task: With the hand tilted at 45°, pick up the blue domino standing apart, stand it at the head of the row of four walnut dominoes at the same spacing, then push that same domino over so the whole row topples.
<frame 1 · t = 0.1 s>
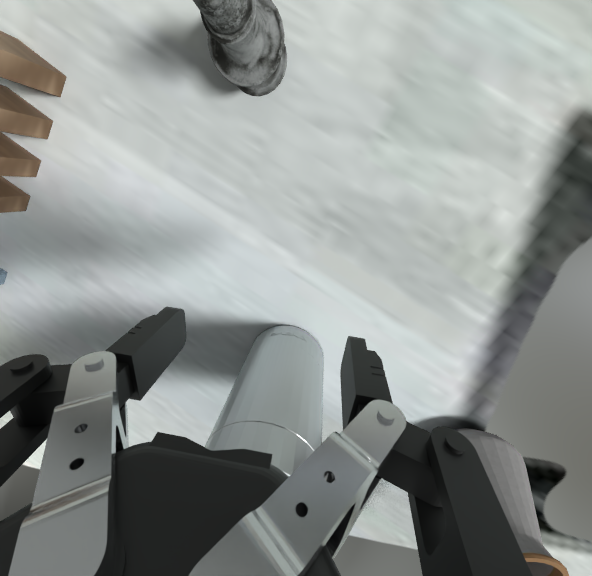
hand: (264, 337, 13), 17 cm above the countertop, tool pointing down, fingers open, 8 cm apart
domino 2: (7, 189, 30), on the countertop
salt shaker: (257, 61, 24), on the countertop
domino 4: (27, 113, 27), on the countertop
domino 5: (39, 68, 25), on the countertop
domino 3: (16, 153, 29), on the countertop
coffee pot: (448, 472, 38), on the countertop
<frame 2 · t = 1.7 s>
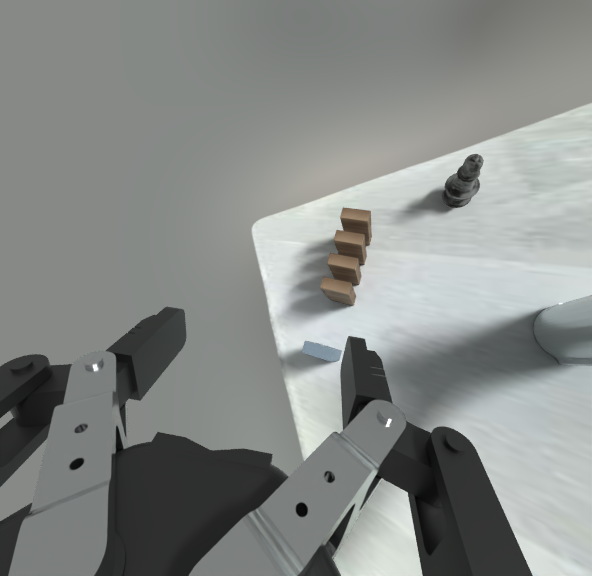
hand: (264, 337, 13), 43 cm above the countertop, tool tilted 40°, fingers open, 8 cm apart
domino 2: (343, 298, 56), on the countertop
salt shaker: (456, 196, 55), on the countertop
blue domino: (328, 351, 54), on the countertop
domino 4: (353, 258, 58), on the countertop
domino 5: (358, 239, 58), on the countertop
domino 3: (348, 277, 57), on the countertop
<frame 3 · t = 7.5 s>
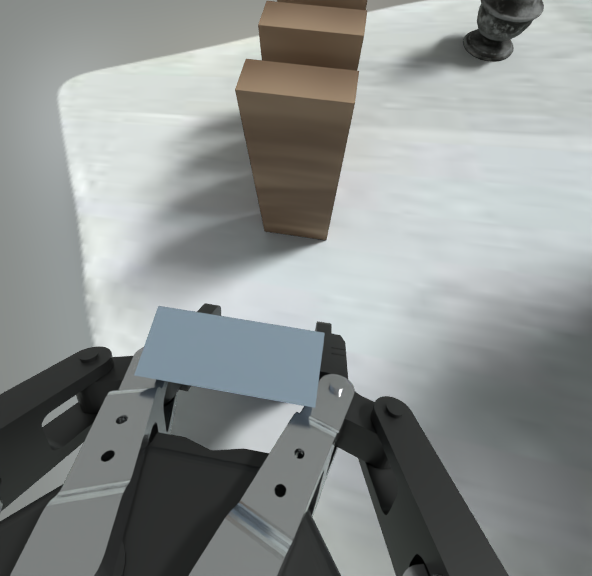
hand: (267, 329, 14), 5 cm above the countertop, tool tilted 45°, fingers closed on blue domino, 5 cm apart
domino 2: (297, 225, 22), on the countertop
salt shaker: (486, 47, 30), on the countertop
blue domino: (269, 371, 18), on the countertop, touching gripper
domino 4: (313, 142, 25), on the countertop
domino 3: (305, 181, 23), on the countertop
when the fingers open (6 cm above the countertop, at t = 13.7 s): blue domino stays where it is, on the countertop.
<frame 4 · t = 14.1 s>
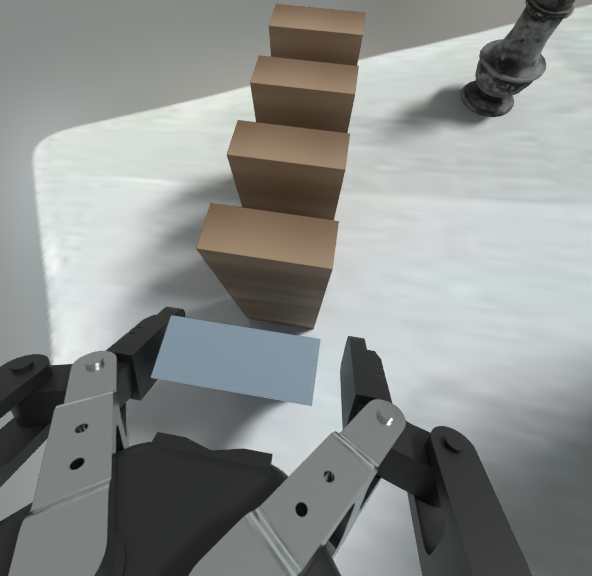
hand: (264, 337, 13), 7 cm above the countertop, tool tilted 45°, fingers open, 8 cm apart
domino 2: (282, 310, 20), on the countertop
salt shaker: (485, 100, 28), on the countertop
blue domino: (269, 373, 19), on the countertop
domino 4: (301, 211, 23), on the countertop
domino 5: (308, 171, 25), on the countertop
domino 3: (292, 257, 22), on the countertop
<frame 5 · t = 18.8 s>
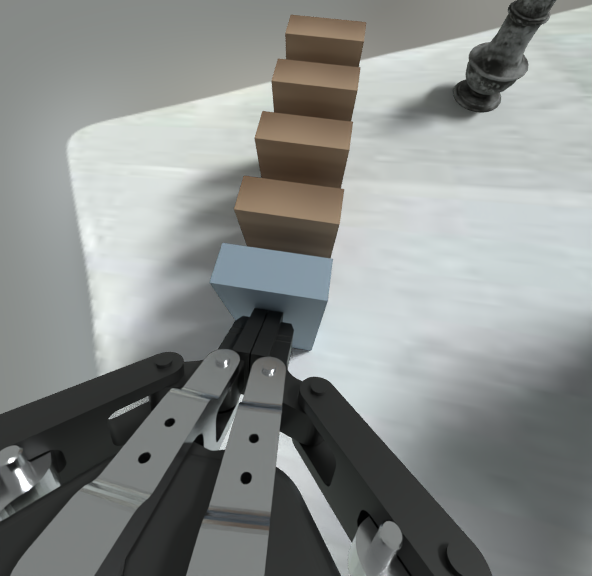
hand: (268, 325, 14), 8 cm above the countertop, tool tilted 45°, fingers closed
domino 2: (292, 281, 23), on the countertop
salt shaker: (475, 97, 31), on the countertop
blue domino: (282, 333, 22), on the countertop
domino 4: (308, 196, 26), on the countertop
domino 5: (315, 161, 28), on the countertop
domino 3: (301, 236, 25), on the countertop
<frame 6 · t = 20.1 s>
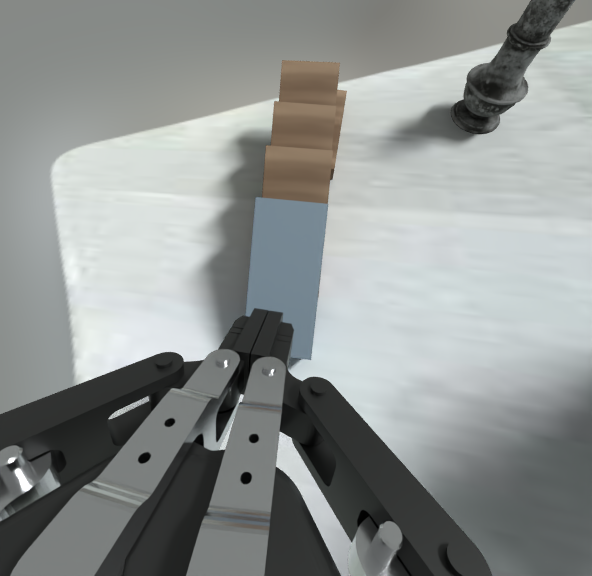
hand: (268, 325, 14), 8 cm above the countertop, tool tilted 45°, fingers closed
domino 2: (287, 292, 22), point 1 cm above the countertop, tilted 65°, touching domino 3, blue domino
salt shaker: (473, 118, 30), on the countertop
blue domino: (277, 351, 20), point 1 cm above the countertop, tilted 65°, touching domino 2
domino 4: (300, 194, 25), point 1 cm above the countertop, tilted 65°, touching domino 3
domino 5: (308, 173, 27), on the countertop, tilted 90°
domino 3: (292, 242, 23), point 1 cm above the countertop, tilted 65°, touching domino 2, domino 4
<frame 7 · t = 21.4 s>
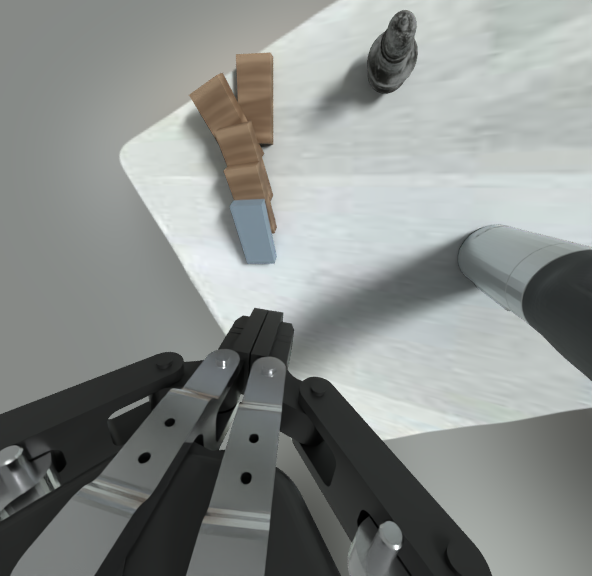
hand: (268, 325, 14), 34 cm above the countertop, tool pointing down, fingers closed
domino 2: (261, 231, 46), point 1 cm above the countertop, tilted 67°, touching domino 3, blue domino
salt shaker: (388, 70, 36), on the countertop
blue domino: (262, 259, 48), point 1 cm above the countertop, tilted 66°, touching domino 2
domino 4: (249, 162, 42), point 1 cm above the countertop, tilted 68°, touching domino 3, domino 5
domino 5: (257, 143, 42), on the countertop, tilted 90°, touching domino 4
domino 3: (257, 200, 44), point 1 cm above the countertop, tilted 67°, touching domino 2, domino 4
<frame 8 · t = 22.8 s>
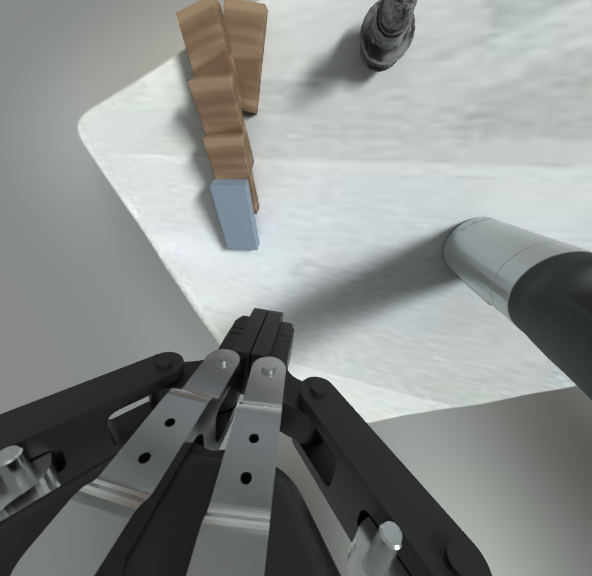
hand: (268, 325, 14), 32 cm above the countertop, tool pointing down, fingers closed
domino 2: (242, 210, 43), point 1 cm above the countertop, tilted 66°, touching blue domino
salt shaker: (381, 45, 33), on the countertop
blue domino: (243, 246, 45), point 1 cm above the countertop, tilted 68°, touching domino 2
domino 4: (225, 113, 36), point 3 cm above the countertop, tilted 93°
domino 5: (239, 110, 37), on the countertop, tilted 90°
domino 3: (236, 166, 40), point 1 cm above the countertop, tilted 59°
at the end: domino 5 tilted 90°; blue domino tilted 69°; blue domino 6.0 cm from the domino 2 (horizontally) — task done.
